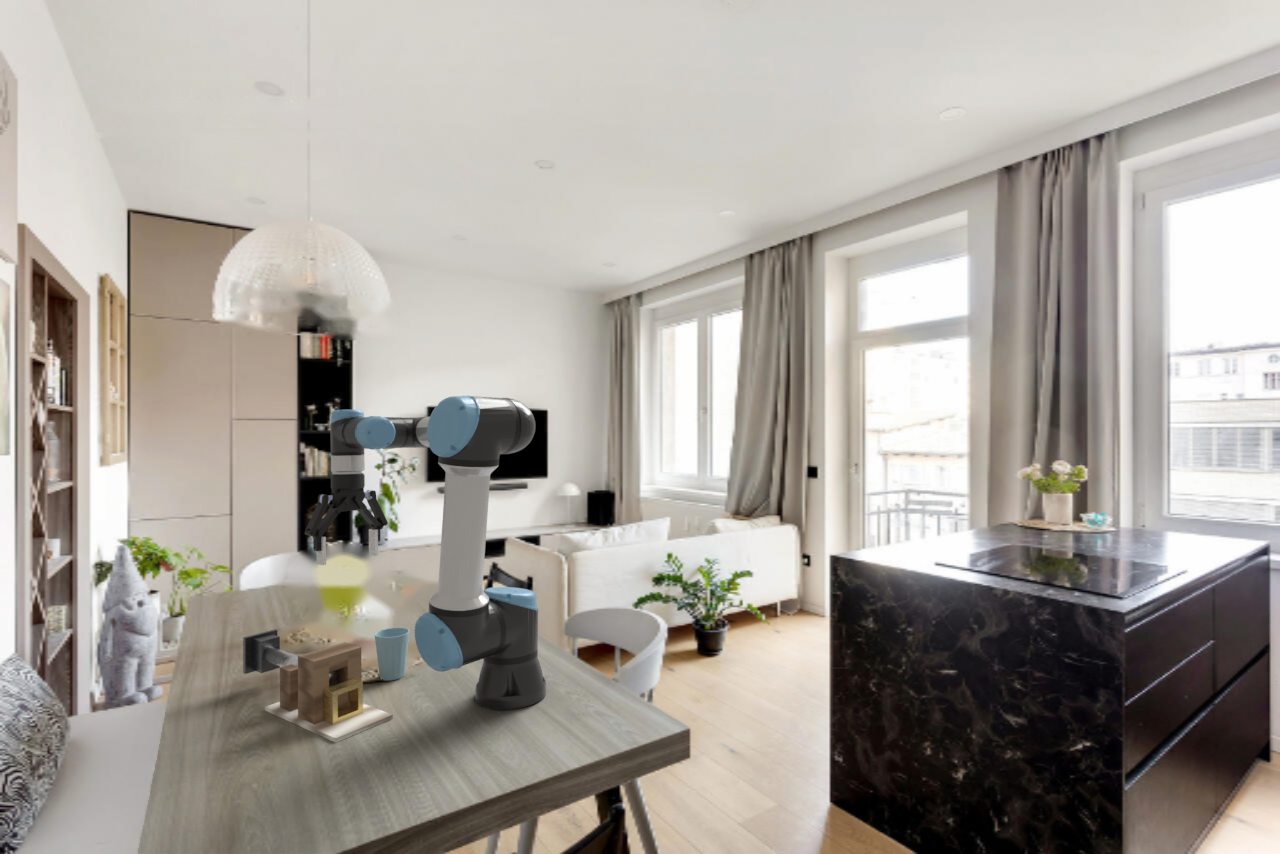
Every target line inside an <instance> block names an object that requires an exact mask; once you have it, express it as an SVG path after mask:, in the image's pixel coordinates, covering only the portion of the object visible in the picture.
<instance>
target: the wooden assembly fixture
mask: <svg viewBox="0 0 1280 854" xmlns="http://www.w3.org/2000/svg"><path fill="white" fill-rule="evenodd" d="M297 656H298V666H296V665H293V664H290V665H286V666H283V667H280V668H279V701H277V702H274V703H272V704H268V705H266V706H264V710H265V712H266V713H267V712H268V713H270V714H272V715H274V716H277V717H279V718H281V719H283V720H285V721H287V722H290V723H291V724H294V725H296V726H298V727H301V728H303V729H305V730H306V731H309V732H311V733H314V734H316V735H318V736H320V737H322V738H324V739H327V740H329V741H331V742H333V743H338V742H341V741H343V740H345V738H346V739H349V738H350V737H353V736H355V735H357V734H359V733H362V732H364V731H366V730H368V729H372V728H374V727H376V726H379V725H381V724H383V723H386V722H387V721H391V720H392V719H393V717H394V715H393V714H392V713H390V712H387V711H384V710H381V709H379V708H377V707H374V706H371V705H368V704H366V703H365V702H363V713H362V714H359V715H357V716H354V717H352V718H349V719H347V720H344V721H342V722H339V723H337V724H334V725H331V724H329V723H327V722H324V689H325V688H328V687H330V686H333V685H336V684H339V683H342V682H345V681H348V680H351V679H353V678H355V679H358V680H361V681H363V680H362V646H358V645H355V644H352V643H349V642H346V641H345V642H342V643H338V644H333V645H330V646H327V647H324V648H320V649H316V650H313V651H310V652H307V653H304V654H300V655H297ZM334 670H337V672H338V676H337V678H336V680H335V681H334V682H333V683H331V684H329V672H331V671H334ZM347 707H350V691H348V692H346V693H343V694H340V695H338V711H339V710H342V709H344V708H347ZM352 735H353V736H352Z"/></svg>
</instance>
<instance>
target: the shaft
mask: <svg viewBox="0 0 1280 854" xmlns="http://www.w3.org/2000/svg"><path fill="white" fill-rule="evenodd" d="M280 641H281V637H280V635H279V636H278V629H272V630H271V629H270V630H266V631H263V632H259V633H255V634H251V635H248V636H243V637H242V655H243V656H242V673H243V674H244V675H246V674H249V673H253V672H258V673H260V674H263V673H267V672H270V671H273V670H276V669H280V667H283V666H286V665H290V664H293V665H296V666H298V656H299V655H296V654H292V653H290V652H287V651H284V650H282V649H281V648H280V647H281V646H280V645H281V644H280V643H281V642H280ZM337 676H338V672H337V670H334V671H331V672H329V684H331V683H333V682H334V681H335V680H336V678H337Z"/></svg>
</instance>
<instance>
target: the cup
mask: <svg viewBox="0 0 1280 854" xmlns="http://www.w3.org/2000/svg"><path fill="white" fill-rule="evenodd" d="M409 639H410V629H409V628H406V627H389V628H384V629H381V630H378V631H376V632H375V633H374V640H375V648H376V656H377V664H378V665H377V666H378V672H379V679H380V678H382V679H383V680H382V679H381V680H382V681H386V682H387V681H388V682H389V681H395V680H399V679H402V678H403V677H405V675H406V668H407V657H408V650H409V649H408V648H409Z"/></svg>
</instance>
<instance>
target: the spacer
mask: <svg viewBox="0 0 1280 854" xmlns="http://www.w3.org/2000/svg"><path fill="white" fill-rule="evenodd" d="M348 691H350V707H347V708H344V709H342V710H339V711H338V695H340V694H343V693H346V692H348ZM363 703H364V682H363V680H362V681H361V680H358V679H355V678H353V679H351V680H348V681H345V682H342V683H339V684H336V685H333V686H330V687H328V688H325V689H324V722H327V723H329V724H331V725H334V724H337V723H339V722H342V721H344V720H347V719H349V718H352V717H354V716H357V715H359V714H362V713H363Z"/></svg>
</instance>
